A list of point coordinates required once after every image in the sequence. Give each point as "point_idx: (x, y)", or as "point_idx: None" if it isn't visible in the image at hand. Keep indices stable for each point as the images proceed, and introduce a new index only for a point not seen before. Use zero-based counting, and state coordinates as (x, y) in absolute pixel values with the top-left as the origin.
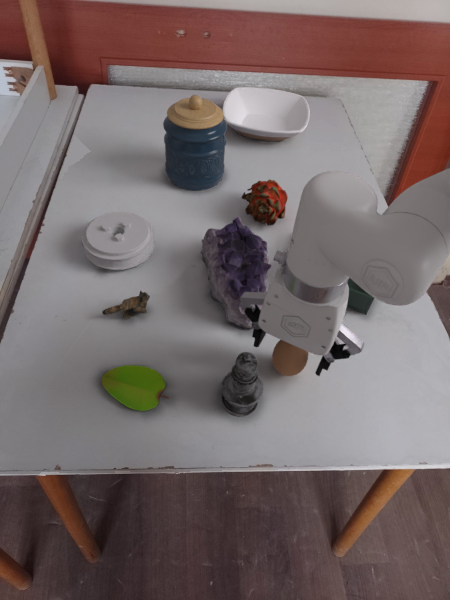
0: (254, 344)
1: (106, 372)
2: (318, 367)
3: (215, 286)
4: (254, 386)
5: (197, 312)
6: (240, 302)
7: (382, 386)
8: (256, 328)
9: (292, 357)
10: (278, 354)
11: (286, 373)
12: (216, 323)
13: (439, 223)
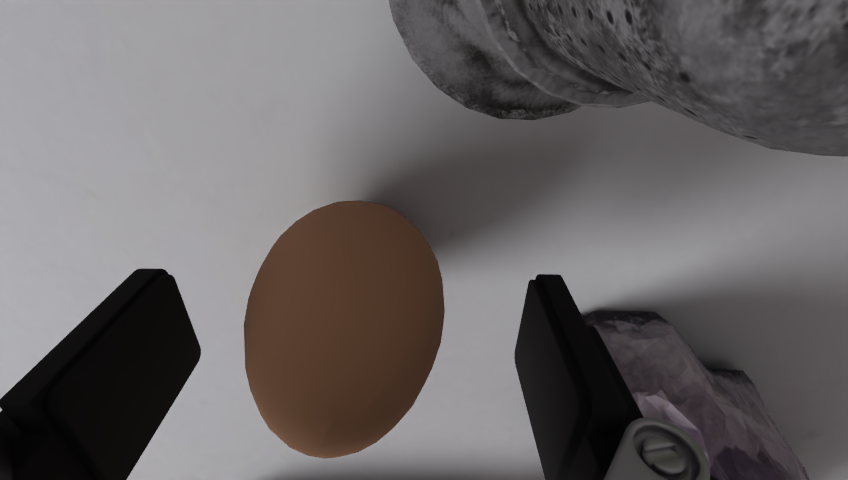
0: (562, 288)
1: None
2: (114, 323)
3: (779, 436)
4: None
5: (790, 302)
6: (707, 459)
7: (26, 323)
8: (637, 430)
9: (295, 316)
10: (399, 293)
11: (327, 209)
12: (703, 292)
13: None
